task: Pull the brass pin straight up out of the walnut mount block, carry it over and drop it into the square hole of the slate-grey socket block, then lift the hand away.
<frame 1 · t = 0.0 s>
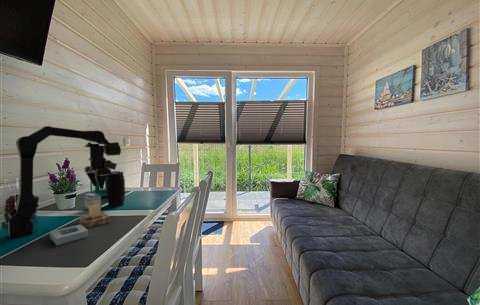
hand: (98, 187, 111), 15 cm above the table, tool pointing down, fingers open, 9 cm apart
brass pin: (94, 214, 104), in the walnut mount
portable speaker: (116, 205, 132), on the table
socket block: (69, 237, 88), on the table
walnut mount: (94, 222, 104), on the table
medicine box: (93, 210, 122), on the table
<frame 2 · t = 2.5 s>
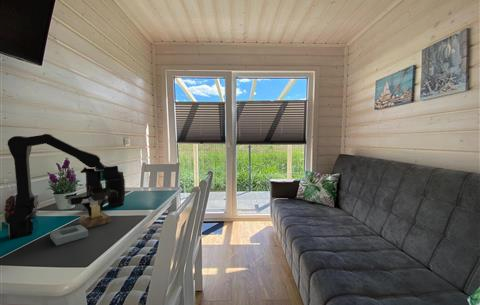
hand: (94, 215, 104), 4 cm above the table, tool pointing down, fingers closed on brass pin, 3 cm apart
brass pin: (94, 214, 104), in the walnut mount, touching gripper
everything else where it was.
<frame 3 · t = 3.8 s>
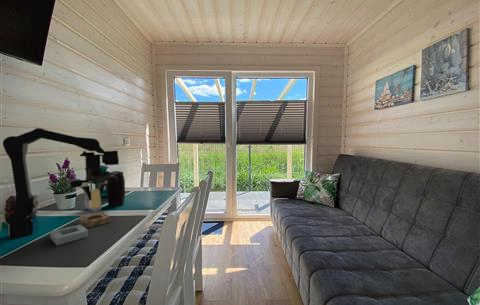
hand: (94, 199, 103), 11 cm above the table, tool pointing down, fingers closed on brass pin, 3 cm apart
brass pin: (94, 198, 103), point 11 cm above the table, touching gripper
everything else where it was.
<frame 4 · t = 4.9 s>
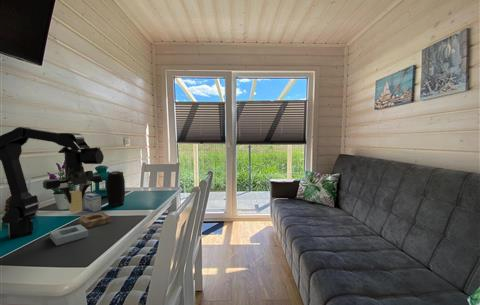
hand: (75, 202, 91), 13 cm above the table, tool pointing down, fingers closed on brass pin, 3 cm apart
brass pin: (75, 201, 91), point 13 cm above the table, touching gripper
everything else where it was.
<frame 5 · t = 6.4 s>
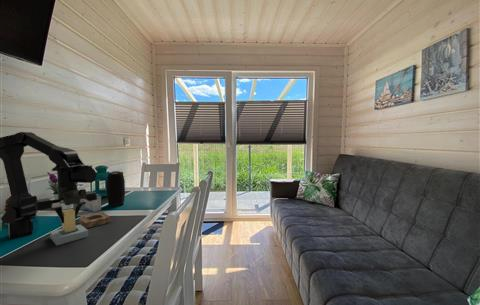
hand: (68, 221, 88), 6 cm above the table, tool pointing down, fingers closed on brass pin, 3 cm apart
brass pin: (68, 220, 88), point 7 cm above the table, touching gripper
everything else where it was.
when the fingers open (5 cm above the table, at t = 7.4 s): brass pin drops 1 cm, resting in socket block.
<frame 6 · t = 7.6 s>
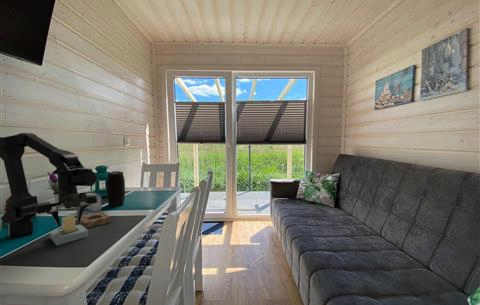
hand: (68, 224, 88), 5 cm above the table, tool pointing down, fingers open, 6 cm apart
brass pin: (68, 227, 88), in the socket block
everything else where it was.
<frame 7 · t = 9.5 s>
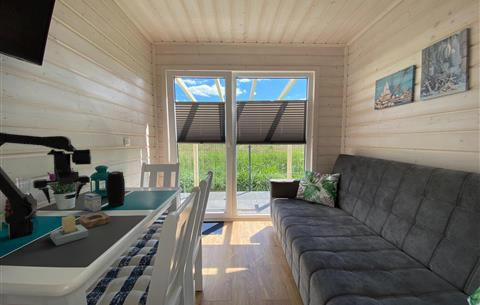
hand: (63, 201, 97), 12 cm above the table, tool pointing down, fingers open, 9 cm apart
nothing on the table moved.
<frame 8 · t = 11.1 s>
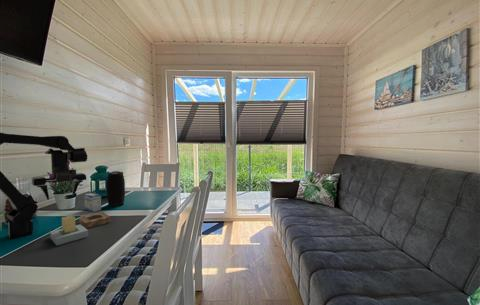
hand: (61, 197, 102), 12 cm above the table, tool pointing down, fingers open, 9 cm apart
nothing on the table moved.
at the end: brass pin 0.0 cm off-centre on the socket block, point 4.0 cm above the socket block's base; brass pin tilted 0°; the gripper is holding nothing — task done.
